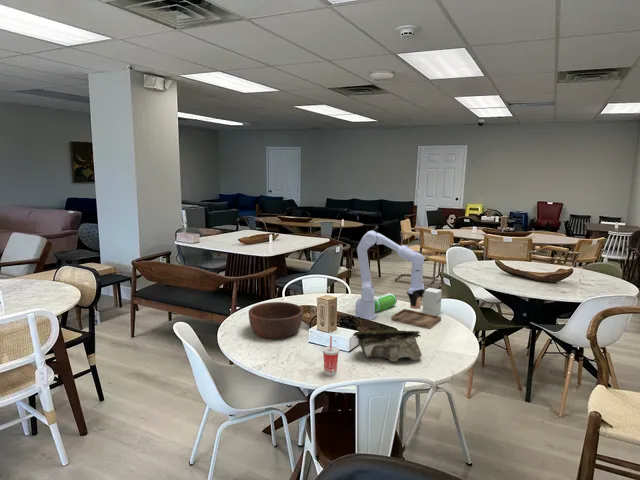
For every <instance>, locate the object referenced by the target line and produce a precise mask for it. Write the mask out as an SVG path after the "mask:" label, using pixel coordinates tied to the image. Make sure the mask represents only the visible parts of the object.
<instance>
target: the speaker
mask: <svg viewBox="0 0 640 480" xmlns="http://www.w3.org/2000/svg"><path fill="white" fill-rule="evenodd" d="M374 298H375V313H376V312H382V311H384V310H388V309H390V308H392V307H394V306H395V305H396V303H397V302H398V301H397V296H396V295H395V294H394V293H392V292H391V293H390V292H389V293H385V294H381V295H378V296H375V297H374Z"/></svg>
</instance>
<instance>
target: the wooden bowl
mask: <svg viewBox="0 0 640 480" xmlns="http://www.w3.org/2000/svg"><path fill="white" fill-rule="evenodd" d="M303 316H304V309H303V307H302V306H300V305H297V304H296V303H290V302H284V301H283V302H282V301H272V302H265V303H258V304H257V305H254V306H252V307H251V308H249V310H248V319H249V324H250V327H251V329H252V332H253V333H254V334H255V335H256V336H257V337H259V338H263V339H268V340H283V339H285V338H290V337H293V336H294V335H296V334H297V333H298V332H299V330H300V328H301V326H302V323H303Z"/></svg>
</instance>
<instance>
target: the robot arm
mask: <svg viewBox="0 0 640 480" xmlns="http://www.w3.org/2000/svg"><path fill="white" fill-rule="evenodd" d="M375 244H376V245H384V246H386V247H387V248H389V249H391V250H393V251H395V252H396V253H397V256H399V257H400V258H403V260H406V261H407V262H410V263H411V267H410V268H411V269H410V285H409V288H408V289H407V291H406V294H407V296H408V298H409V301H410V303H411V306H416V301H417V297H418V296H421V299H422V298H423V296H424V292H425V290H426V289H425V287H424V286H425V284H424V282H423V280H424V278H423V277H424V264H425V260H424V259H425V257H424V255H423V254H421V253H420V252H418V251H417V250H413V249H412V248H409V245H399V244H398V243H396V242H395V241H393V240H391V239H390V238H388V237H386V236H385V235H383V234H382V233H380V232H376V231H375V230H369V231H367V232H366V233H365V234H364V235H363V236H362V238H361V239H360V241H359V243H358V245H357V247H356V253H357V258H358V266H359V272H360V278H361V294H360V297H361V298H360V297H359V298H357V299H356V302H355V314H354V317H355V318H359V317H360V319H365V320H368V321H372V320H373V319H375V318H377V317H378V316H379V315H378V314H375V313H376V312H375V298H374V296H375V294H376V289H375V287H374V285H373V282H372V277H371V269H370V263H369V257H368V256H369V255H368V250H369V249H370V248H371V247H373V246H374V245H375ZM410 303H409V304H410Z"/></svg>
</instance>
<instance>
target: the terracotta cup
mask: <svg viewBox="0 0 640 480" xmlns="http://www.w3.org/2000/svg"><path fill="white" fill-rule="evenodd" d="M421 302H422V298H421V296H418V297H417V301H416V306H411V303H409V308H410V309H412V310H413V309H414V310H420V309H421V304H422V303H421Z"/></svg>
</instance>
